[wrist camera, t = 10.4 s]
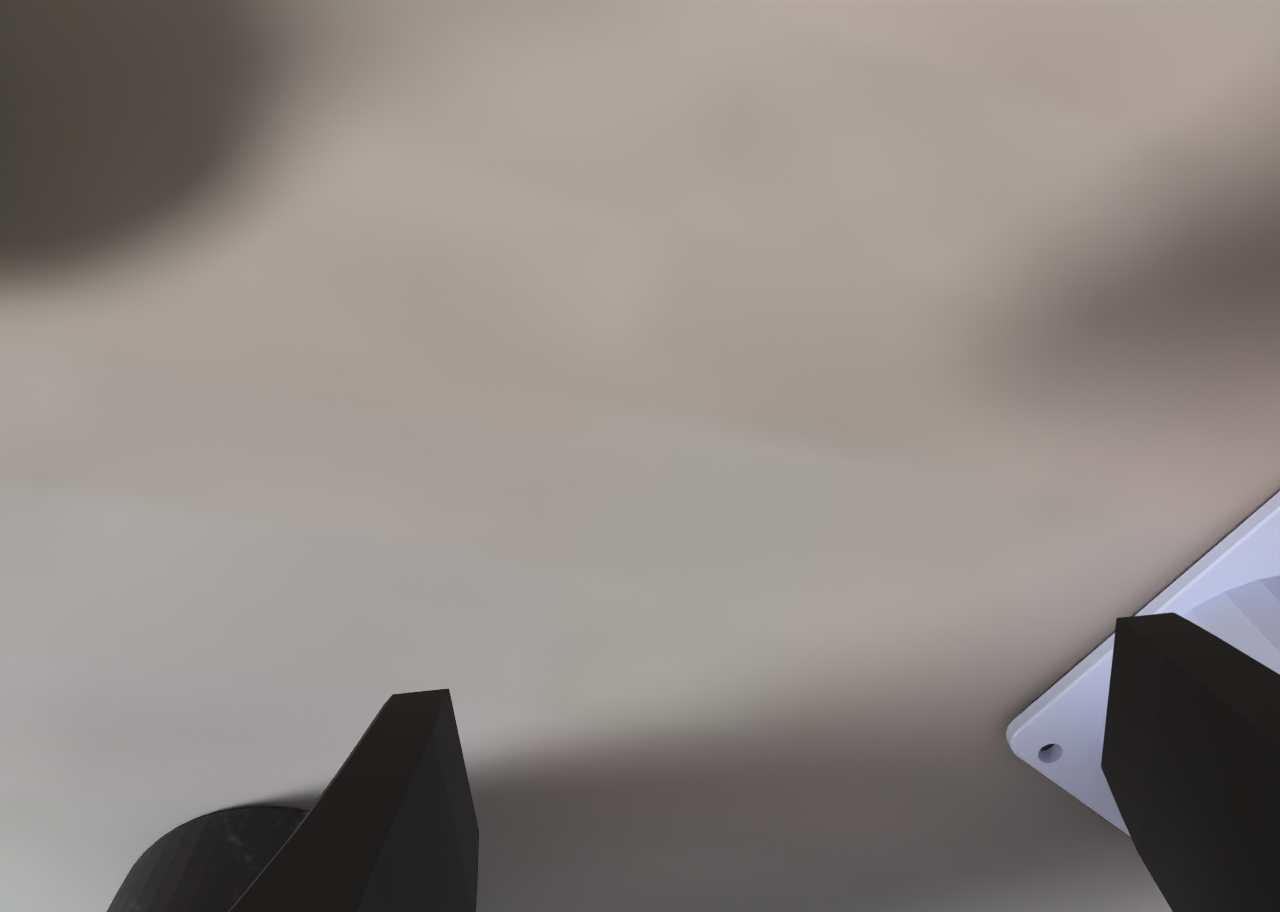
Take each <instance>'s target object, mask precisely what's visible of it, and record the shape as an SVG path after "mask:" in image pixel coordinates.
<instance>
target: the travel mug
mask: <svg viewBox="0 0 1280 912" xmlns="http://www.w3.org/2000/svg"><path fill="white" fill-rule="evenodd" d="M307 813H308V812H307V811H302V810H296V809H286V808H276V807H253V808H243V809H233V810H228V811H223V812H218V813H213V814H210V815H207V816H204V817H201V818H198V819H195V820H192V821H190V822H188V823H186V824H184V825H181V826H179V827H177V828H175V829H174V830H172V831H171V832H169V833H167V834H166V835H164V836H163V837H161V838H160V839H159V840H158V841H156V842H155V843H154V844H153V845H152V846H151V847H149V848H148V849H147V850H146V851H145V852H144V853H143V855H142V856H141V857H140V858H139V859H138V860H137V862H136V863H135V864H134V865H133V867H132V868H131V870H130V872H129V873H128V875H127V877H126V878H125V880H124V882H123V883H122V885H121V887H120V889H119V890H118V892H117V894H116V896H115V897H114V899H113V901H112V903H111V905H110V907H109V909H108V911H107V912H228V911H229V910H230V909H231V908H232V907H233V906H234V904H235V903H236V902H237V901H238V900H239V898H240V897H241V896H242V895H243V894H244V892H245V891H246V890H247V889H248V888H249V886H250V885H251V884H252V883H253V881H254V880H255V879H256V878H257V877H258V875H259V874H260V873H261V872H262V871H263V869H264V868H265V867H266V866H267V865H268V863H269V862H270V861H271V860H272V859H273V857H274V856H275V855H276V854H277V852H278V851H279V850H280V849H281V848H282V846H283V845H284V844H285V842H286V841H287V840H288V839H289V837H290V836H291V835H292V833H293V832H294V831H295V829H296V828H297V827H298V825H299V824H300V823H301V821H302V820H303V819H304V817H305V816H306V815H307Z"/></svg>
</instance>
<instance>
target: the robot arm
mask: <svg viewBox="0 0 1280 912" xmlns="http://www.w3.org/2000/svg"><path fill="white" fill-rule="evenodd" d="M1006 738H1007V742H1008V744H1009V746H1010V748H1011V749H1012V751H1013V752H1014V753H1015V754H1016V755H1017V756H1018V757H1019V758H1021V759H1022V760H1024V761H1025V762H1026V763H1028V764H1029V765H1031V766H1032V767H1033V768H1035V769H1036V770H1038V771H1039V772H1040V773H1042V774H1043V775H1045V776H1046V777H1047V778H1049V779H1050V780H1052V781H1053V782H1054V783H1056V784H1057V785H1059V786H1060V787H1061V788H1063V789H1064V790H1066V791H1067V792H1068V793H1070V794H1071V795H1073V796H1074V797H1075V798H1077V799H1078V800H1080V801H1081V802H1082V803H1084V804H1085V805H1087V806H1088V807H1089V808H1091V809H1092V810H1094V811H1095V812H1096V813H1098V814H1099V815H1101V816H1102V817H1103V818H1105V819H1106V820H1108V821H1109V822H1110V823H1112V824H1113V825H1115V826H1116V827H1118V828H1119V829H1120V830H1122V831H1123V832H1125V833H1126V834H1127V835H1129V836H1130V837H1131V838H1132V840H1133V843H1134V845H1135V847H1136V849H1137V851H1138V853H1139V855H1140V857H1141V858H1142V860H1143V862H1144V864H1145V865H1146V867H1147V869H1148V870H1149V872H1150V874H1151V876H1152V877H1153V879H1154V881H1155V882H1156V884H1157V886H1158V887H1159V889H1160V891H1161V892H1162V894H1163V896H1164V897H1165V899H1166V901H1167V903H1168V904H1169V906H1170V908H1171V909H1172V911H1173V912H1280V491H1279V492H1278V493H1277V494H1276V495H1275V496H1273V497H1272V498H1271V499H1270V500H1269V501H1268V502H1266V503H1265V504H1264V505H1263V506H1262V507H1261V508H1259V509H1258V510H1257V511H1256V512H1255V513H1254V514H1252V515H1251V516H1250V517H1249V518H1248V519H1247V520H1245V521H1244V522H1243V523H1242V524H1241V525H1240V526H1239V527H1237V528H1236V529H1235V530H1234V531H1233V532H1232V533H1230V534H1229V535H1228V536H1227V537H1226V538H1225V539H1223V540H1222V541H1221V542H1220V543H1219V544H1218V545H1216V546H1215V547H1214V548H1213V549H1212V550H1211V551H1209V552H1208V553H1207V554H1206V555H1205V556H1204V557H1202V558H1201V559H1200V560H1199V561H1198V562H1197V563H1195V564H1194V565H1193V566H1192V567H1191V568H1190V569H1188V570H1187V571H1186V572H1185V573H1184V574H1183V575H1181V576H1180V577H1179V578H1178V579H1177V580H1176V581H1174V582H1173V583H1172V584H1171V585H1170V586H1169V587H1168V588H1166V589H1165V590H1164V591H1163V592H1162V593H1161V594H1159V595H1158V596H1157V597H1156V598H1155V599H1154V600H1152V601H1151V602H1150V603H1149V604H1148V605H1147V606H1145V607H1144V608H1143V609H1142V610H1141V611H1140V612H1138V613H1137V614H1136V615H1135V616H1133V617H1124V618H1117V620H1116V629H1115V633H1114V634H1113V635H1112V636H1110V637H1109V638H1108V639H1107V640H1106V641H1105V642H1103V643H1102V644H1101V645H1100V646H1099V647H1098V648H1096V649H1095V650H1094V651H1093V652H1092V653H1091V654H1090V655H1088V656H1087V657H1086V658H1085V659H1084V660H1083V661H1081V662H1080V663H1079V664H1078V665H1077V666H1076V667H1074V668H1073V669H1072V670H1071V671H1070V672H1069V673H1067V674H1066V675H1065V676H1064V677H1063V678H1062V679H1060V680H1059V681H1058V682H1057V683H1056V684H1055V685H1053V686H1052V687H1051V688H1050V689H1049V690H1048V691H1046V692H1045V693H1044V694H1043V695H1042V696H1041V697H1039V698H1038V699H1037V700H1036V701H1035V702H1034V703H1032V704H1031V705H1030V706H1029V707H1028V708H1027V709H1025V710H1024V711H1023V712H1022V713H1021V714H1020V715H1018V716H1017V717H1016V718H1015V719H1014V720H1013V721H1012V722H1011V723H1010V725H1009V726H1008V728H1007V731H1006ZM1047 744H1054V745H1053V746H1052V747H1051V748H1049V749H1047V750H1043V751H1040V749H1041V748H1042V747H1044V746H1046V745H1047ZM478 845H479V830H478V825H477V820H476V816H475V811H474V806H473V801H472V797H471V792H470V787H469V782H468V778H467V773H466V768H465V763H464V758H463V754H462V749H461V744H460V739H459V735H458V730H457V725H456V720H455V716H454V711H453V706H452V701H451V696H450V692H449V689H441V690H431V691H422V692H412V693H403V694H393V695H392V696H391V697H390V698H389V699H388V701H387V702H386V703H385V704H384V705H383V707H382V708H381V710H380V711H379V713H378V714H377V716H376V717H375V718H374V720H373V721H372V723H371V724H370V726H369V727H368V729H367V730H366V732H365V733H364V735H363V736H362V738H361V739H360V741H359V742H358V744H357V745H356V746H355V748H354V749H353V751H352V752H351V754H350V755H349V757H348V758H347V760H346V761H345V762H344V764H343V765H342V767H341V768H340V769H339V771H338V772H337V774H336V775H335V777H334V778H333V779H332V781H331V782H330V784H329V785H328V786H327V788H326V789H325V790H324V792H323V793H322V795H321V796H320V797H319V799H318V800H317V801H316V803H315V804H314V805H313V807H312V808H311V809H310V811H309V812H308V813H307V815H306V816H305V817H304V819H303V820H302V821H301V823H300V824H299V825H298V827H297V828H296V829H295V831H294V832H293V833H292V835H291V836H290V837H289V839H288V840H287V841H286V842H285V844H284V845H283V846H282V848H281V849H280V850H279V851H278V852H277V854H276V855H275V856H274V857H273V859H272V860H271V861H270V862H269V863H268V865H267V866H266V867H265V868H264V869H263V871H262V872H261V873H260V874H259V875H258V877H257V878H256V879H255V880H254V881H253V883H252V884H251V885H250V886H249V888H248V889H247V890H246V891H245V892H244V894H243V895H242V896H241V897H240V898H239V900H238V901H237V902H236V903H235V904H234V906H233V907H232V908H231V909H230V910H229V911H228V912H476V895H477V874H478Z"/></svg>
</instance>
